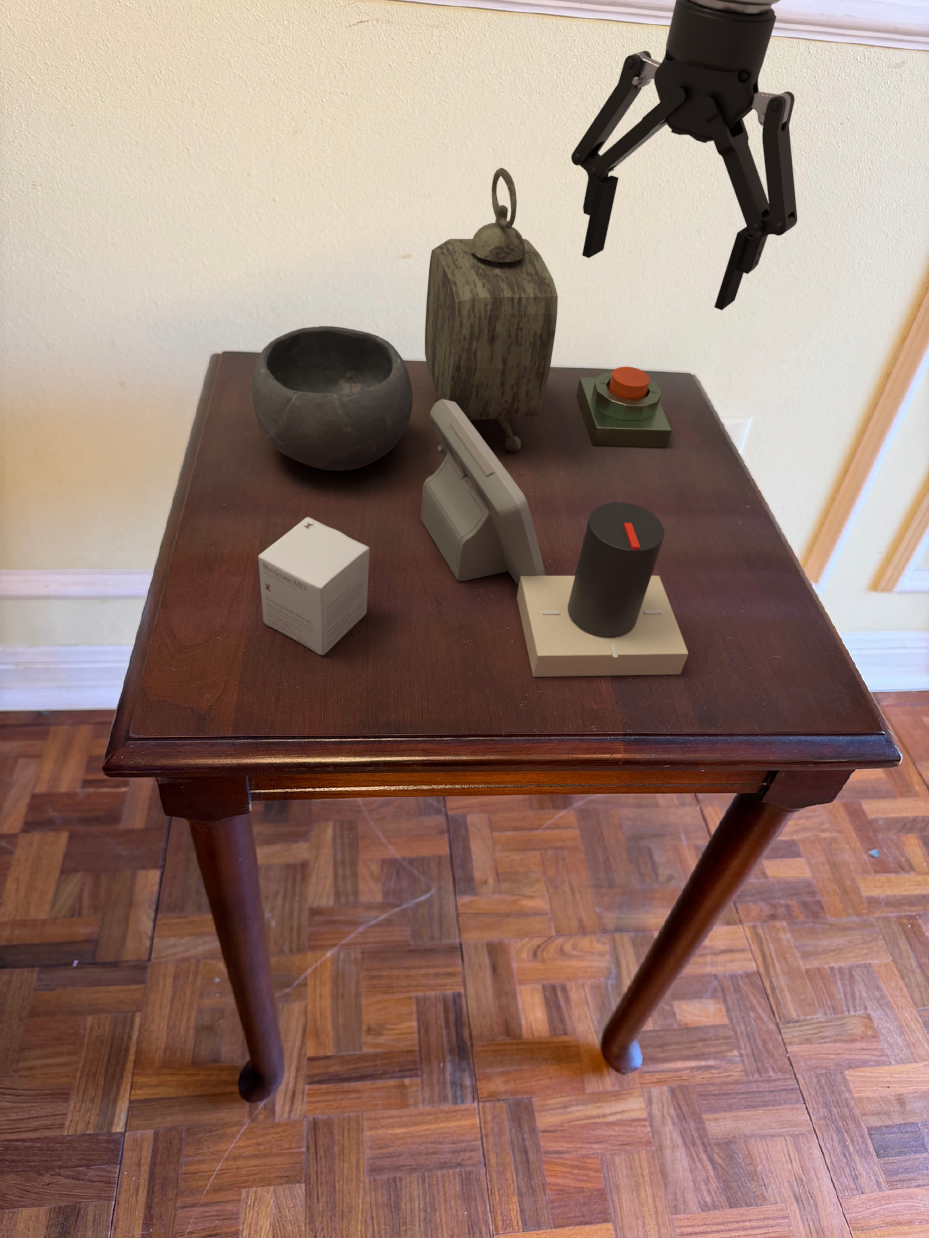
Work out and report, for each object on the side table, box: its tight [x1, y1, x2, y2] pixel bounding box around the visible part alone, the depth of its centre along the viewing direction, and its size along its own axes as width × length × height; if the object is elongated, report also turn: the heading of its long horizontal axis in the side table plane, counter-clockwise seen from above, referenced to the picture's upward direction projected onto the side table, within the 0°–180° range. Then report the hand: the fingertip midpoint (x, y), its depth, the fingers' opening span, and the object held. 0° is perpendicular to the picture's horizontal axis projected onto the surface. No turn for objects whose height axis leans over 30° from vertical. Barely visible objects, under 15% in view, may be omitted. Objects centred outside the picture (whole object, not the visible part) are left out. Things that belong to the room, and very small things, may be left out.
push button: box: [609, 366, 651, 400], centre depth 94 cm, size 4×4×2 cm
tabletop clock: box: [424, 167, 559, 453], centre depth 85 cm, size 14×9×25 cm, turn 13°
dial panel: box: [516, 575, 689, 678], centre depth 73 cm, size 12×10×3 cm
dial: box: [568, 501, 666, 638], centre depth 68 cm, size 6×6×9 cm
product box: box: [257, 516, 371, 656], centre depth 69 cm, size 6×6×7 cm
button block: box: [576, 370, 673, 448], centre depth 96 cm, size 10×8×4 cm
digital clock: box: [420, 399, 546, 587], centre depth 77 cm, size 16×9×11 cm, turn 12°
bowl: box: [251, 325, 414, 472], centre depth 85 cm, size 15×15×10 cm
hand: (656, 278), depth 81 cm, fingers open, 13 cm apart
